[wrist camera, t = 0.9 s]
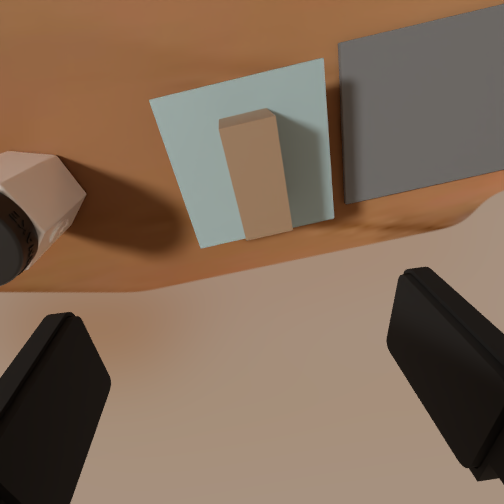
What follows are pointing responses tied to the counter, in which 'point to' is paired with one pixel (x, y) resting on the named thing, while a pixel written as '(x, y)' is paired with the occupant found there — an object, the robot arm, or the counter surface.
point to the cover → (251, 152)
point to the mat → (422, 104)
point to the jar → (33, 208)
